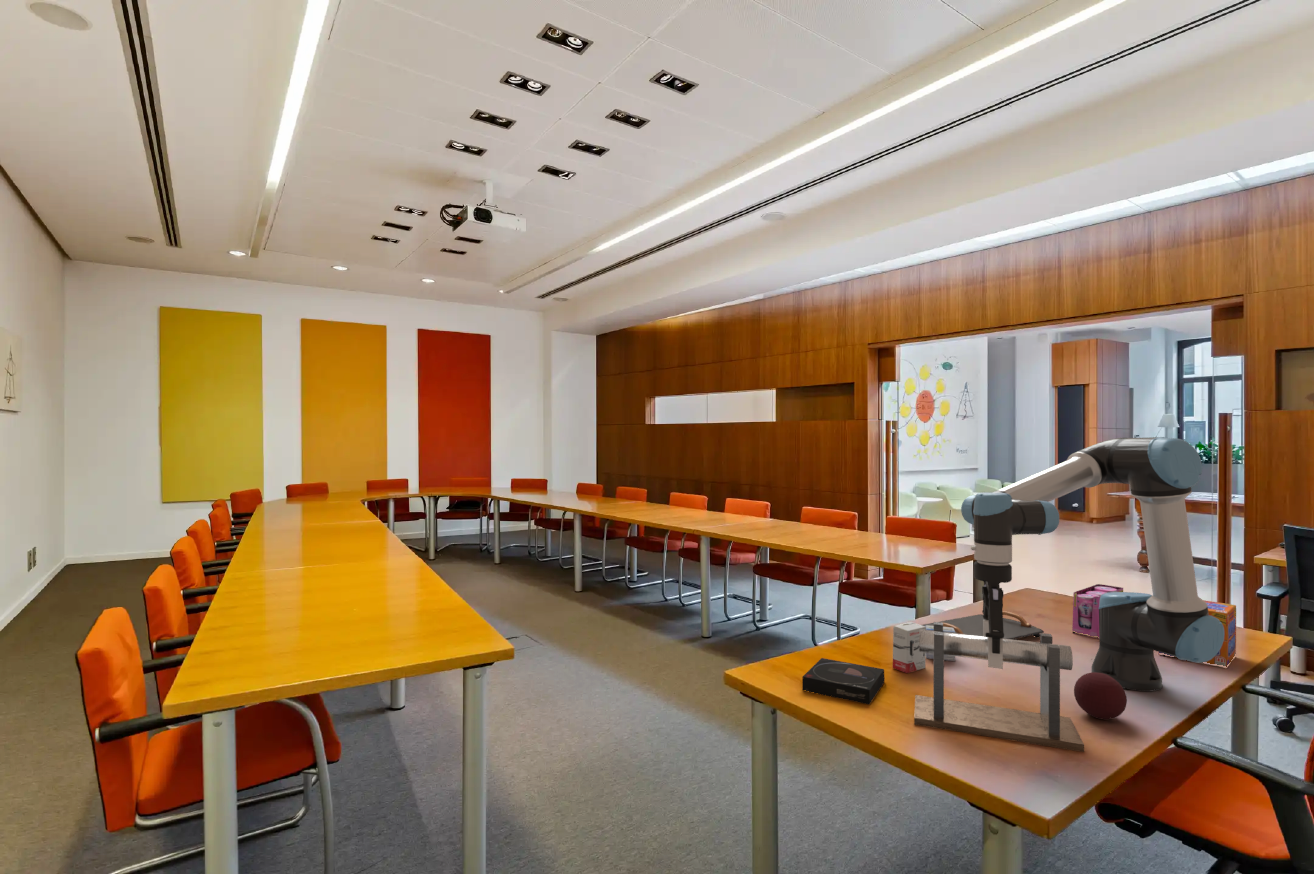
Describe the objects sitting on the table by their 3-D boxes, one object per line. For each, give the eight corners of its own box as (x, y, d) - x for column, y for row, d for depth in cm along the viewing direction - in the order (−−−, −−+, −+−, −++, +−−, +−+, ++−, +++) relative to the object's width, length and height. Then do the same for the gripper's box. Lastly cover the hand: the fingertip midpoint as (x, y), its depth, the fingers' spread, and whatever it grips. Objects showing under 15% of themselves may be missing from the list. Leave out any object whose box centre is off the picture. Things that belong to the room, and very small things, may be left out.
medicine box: (953, 656, 188) (954, 627, 188) (955, 661, 184) (955, 631, 184) (924, 653, 191) (924, 624, 191) (925, 658, 187) (925, 628, 187)
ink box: (907, 673, 174) (907, 630, 174) (891, 668, 178) (891, 625, 178) (926, 667, 179) (926, 625, 179) (910, 662, 183) (911, 621, 183)
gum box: (1097, 639, 206) (1097, 597, 206) (1069, 633, 212) (1069, 592, 212) (1124, 627, 220) (1124, 587, 220) (1097, 621, 226) (1097, 583, 227)
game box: (1157, 655, 191) (1157, 602, 191) (1169, 644, 201) (1169, 594, 201) (1227, 669, 179) (1227, 613, 179) (1236, 657, 189) (1236, 604, 190)
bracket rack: (1070, 724, 143) (1070, 634, 143) (1084, 751, 130) (1084, 653, 131) (915, 700, 156) (915, 618, 156) (914, 724, 143) (914, 633, 143)
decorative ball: (1136, 728, 141) (1136, 683, 141) (1086, 725, 143) (1086, 680, 143) (1112, 710, 151) (1112, 667, 151) (1065, 706, 153) (1065, 664, 153)
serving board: (986, 620, 229) (986, 603, 229) (1051, 638, 208) (1052, 619, 208) (909, 635, 211) (909, 616, 211) (972, 656, 190) (972, 635, 190)
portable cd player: (884, 683, 168) (884, 668, 168) (869, 706, 154) (869, 689, 154) (822, 671, 177) (822, 657, 177) (802, 692, 162) (802, 676, 162)
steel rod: (1067, 663, 141) (1068, 641, 140) (1072, 674, 136) (1072, 651, 136) (919, 646, 152) (919, 625, 152) (919, 655, 148) (919, 634, 147)
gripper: (970, 552, 156) (970, 639, 156) (977, 570, 133) (977, 673, 133) (1005, 554, 153) (1005, 643, 153) (1019, 574, 130) (1018, 679, 130)
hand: (992, 657), depth 143 cm, fingers open, 13 cm apart
